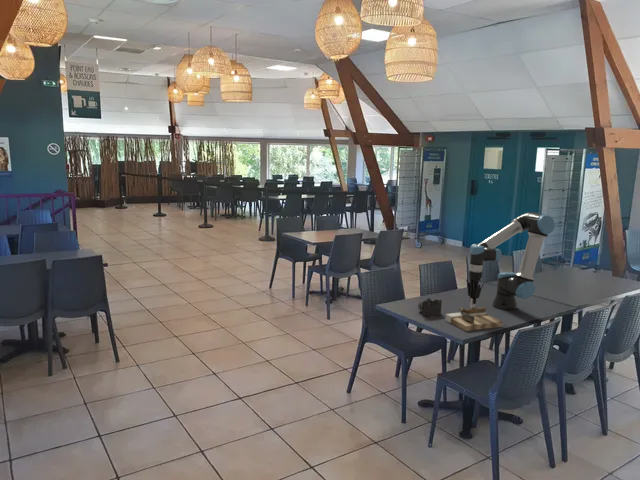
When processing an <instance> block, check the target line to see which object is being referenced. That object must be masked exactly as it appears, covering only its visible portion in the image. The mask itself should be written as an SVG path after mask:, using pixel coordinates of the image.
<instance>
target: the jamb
mask: <svg viewBox="0 0 640 480" xmlns="http://www.w3.org/2000/svg"><path fill="white" fill-rule="evenodd" d="M463 313H464V311H460V312H452V313H451V312H450V313H446V314H445V321H446V322H448V323H449V324H451V318H458V317H462V315H463ZM468 314H469V315H471V316H475V315H484V314H487V311H486V312H477V313H468Z"/></svg>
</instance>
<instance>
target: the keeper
mask: <svg viewBox="0 0 640 480" xmlns="http://www.w3.org/2000/svg"><path fill="white" fill-rule="evenodd" d="M462 319H463V320H465V321H467V322H469V323H474V317H473V316H471V315H469V314H467V313H463V315H462Z"/></svg>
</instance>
